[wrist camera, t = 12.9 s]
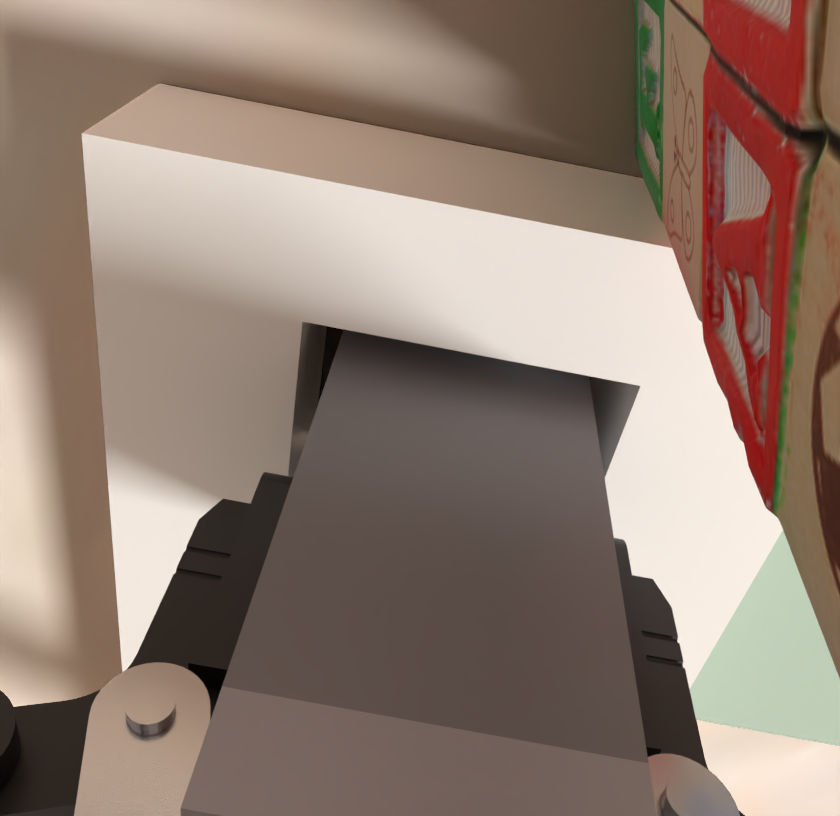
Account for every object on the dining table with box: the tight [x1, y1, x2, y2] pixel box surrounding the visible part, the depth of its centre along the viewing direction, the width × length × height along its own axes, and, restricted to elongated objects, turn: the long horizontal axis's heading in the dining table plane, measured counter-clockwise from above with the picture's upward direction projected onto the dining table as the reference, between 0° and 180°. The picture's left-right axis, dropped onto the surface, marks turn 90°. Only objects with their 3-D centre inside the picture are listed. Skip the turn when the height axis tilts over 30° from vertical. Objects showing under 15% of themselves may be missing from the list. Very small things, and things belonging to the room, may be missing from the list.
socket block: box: [82, 83, 783, 689], centre depth 16 cm, size 21×12×10 cm, turn 170°
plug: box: [181, 329, 657, 816], centre depth 12 cm, size 4×4×10 cm
